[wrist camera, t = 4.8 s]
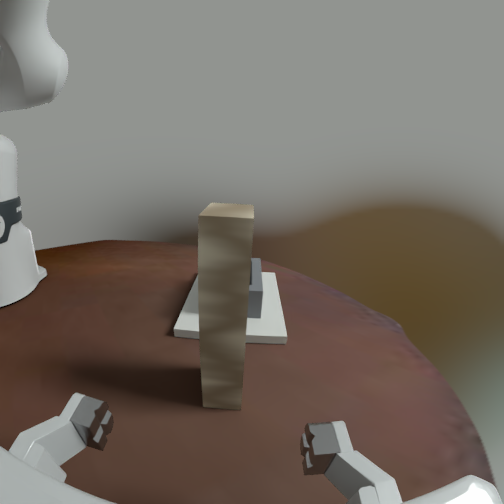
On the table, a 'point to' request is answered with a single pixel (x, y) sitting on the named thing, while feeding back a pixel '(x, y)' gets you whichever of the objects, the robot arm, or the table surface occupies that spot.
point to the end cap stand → (259, 310)
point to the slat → (223, 300)
